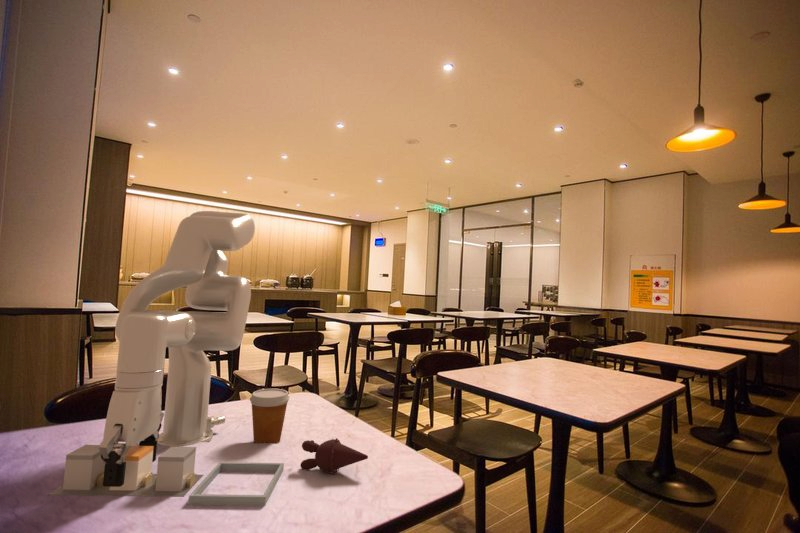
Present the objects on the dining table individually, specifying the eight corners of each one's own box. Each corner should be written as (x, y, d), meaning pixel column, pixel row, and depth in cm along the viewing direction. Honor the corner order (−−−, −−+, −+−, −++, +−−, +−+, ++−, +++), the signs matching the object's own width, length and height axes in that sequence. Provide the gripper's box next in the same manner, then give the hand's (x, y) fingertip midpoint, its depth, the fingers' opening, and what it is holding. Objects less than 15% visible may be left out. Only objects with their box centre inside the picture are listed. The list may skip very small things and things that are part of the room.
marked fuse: (126, 477, 73) (129, 445, 74) (150, 478, 73) (153, 446, 74) (109, 490, 69) (112, 455, 69) (135, 490, 69) (138, 456, 69)
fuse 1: (82, 476, 73) (85, 444, 73) (107, 477, 73) (110, 445, 73) (62, 489, 68) (66, 455, 69) (89, 489, 68) (93, 455, 69)
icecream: (372, 437, 85) (309, 435, 88) (363, 440, 78) (295, 439, 81) (371, 472, 83) (306, 469, 85) (362, 478, 76) (292, 476, 79)
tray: (218, 473, 78) (219, 461, 78) (283, 475, 79) (283, 463, 79) (187, 510, 65) (189, 495, 65) (264, 511, 66) (265, 497, 66)
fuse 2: (169, 478, 74) (171, 446, 74) (193, 478, 74) (196, 447, 74) (155, 490, 69) (158, 456, 70) (181, 491, 69) (184, 457, 70)
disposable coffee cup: (263, 452, 89) (267, 400, 90) (238, 442, 94) (242, 393, 95) (294, 440, 97) (297, 392, 98) (269, 431, 102) (273, 386, 103)
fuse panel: (82, 477, 74) (83, 464, 74) (203, 479, 76) (204, 466, 76) (47, 500, 66) (48, 484, 66) (183, 502, 68) (184, 487, 68)
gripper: (146, 369, 81) (139, 453, 79) (84, 389, 63) (73, 497, 62) (183, 370, 81) (176, 453, 80) (131, 391, 64) (121, 497, 63)
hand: (131, 472), depth 71 cm, fingers open, 9 cm apart
